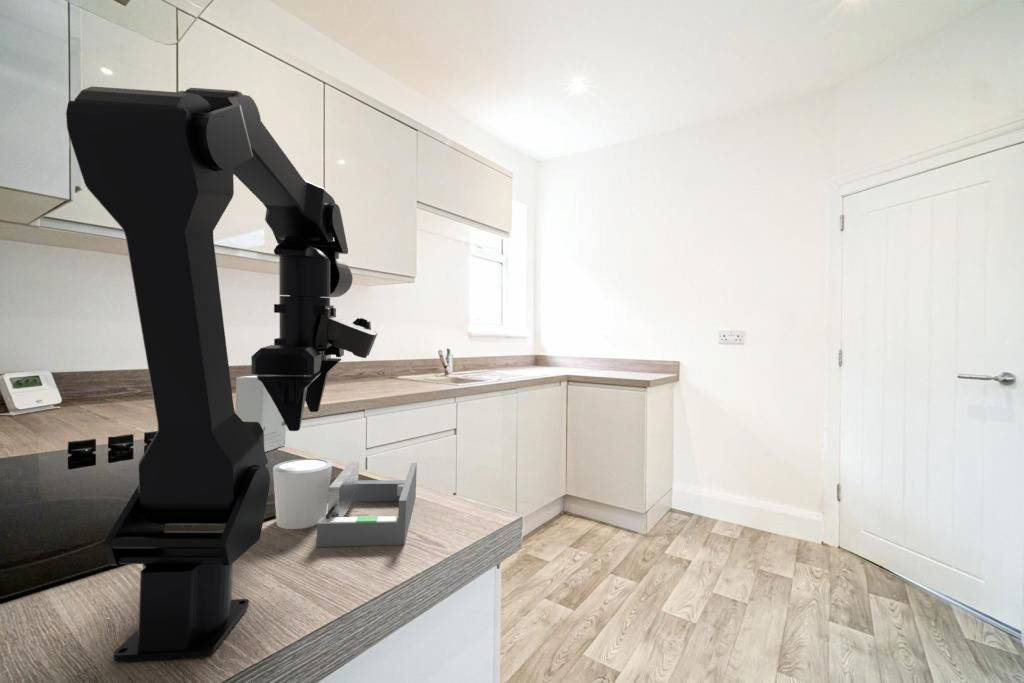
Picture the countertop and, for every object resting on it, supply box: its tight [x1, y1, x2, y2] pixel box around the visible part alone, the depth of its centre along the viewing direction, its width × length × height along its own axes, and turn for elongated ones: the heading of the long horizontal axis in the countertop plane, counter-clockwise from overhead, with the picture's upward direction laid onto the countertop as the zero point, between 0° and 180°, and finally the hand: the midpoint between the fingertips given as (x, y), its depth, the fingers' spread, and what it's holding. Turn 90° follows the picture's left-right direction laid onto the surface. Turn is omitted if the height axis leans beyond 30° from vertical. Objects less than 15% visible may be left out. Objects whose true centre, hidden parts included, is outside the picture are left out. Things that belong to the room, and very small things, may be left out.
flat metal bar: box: [326, 461, 360, 519], centre depth 56 cm, size 13×1×4 cm, turn 8°
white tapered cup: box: [272, 458, 333, 530], centre depth 57 cm, size 7×7×7 cm
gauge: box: [316, 462, 418, 548], centre depth 58 cm, size 16×10×5 cm, turn 8°
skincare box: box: [234, 375, 287, 453], centre depth 91 cm, size 8×6×15 cm
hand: (305, 420), depth 57 cm, fingers open, 9 cm apart
